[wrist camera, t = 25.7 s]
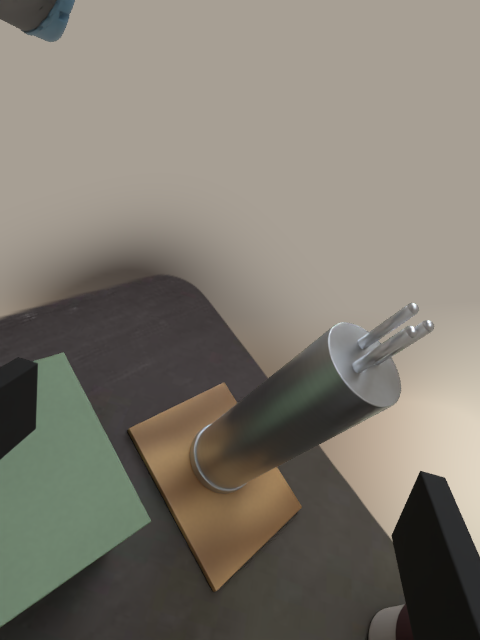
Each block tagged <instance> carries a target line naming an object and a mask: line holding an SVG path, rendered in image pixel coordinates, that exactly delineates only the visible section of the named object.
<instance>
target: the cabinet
mask: <svg viewBox="0 0 480 640" xmlns="http://www.w3.org/2000/svg"><path fill="white" fill-rule="evenodd" d="M33 362H36V363H38V381H37V411H36V429H35V430H34V431H33V432H32V433H30V434H29V435H28V436H27V437H26V438H25V439H24V440H22V441H21V442H20V443H19V444H18V445H17V446H15V447H14V448H13V449H12V450H11V451H10V452H9V453H7V454H6V455H5V456H4V457H3V458H2V459H0V627H2V626H3V625H5V624H6V623H8V622H9V621H10V620H12V619H13V618H15V617H16V616H18V615H19V614H20V613H22V612H23V611H25V610H26V609H28V608H29V607H30V606H32V605H33V604H35V603H36V602H37V601H39V600H40V599H42V598H43V597H45V596H46V595H47V594H49V593H50V592H52V591H53V590H55V589H56V588H57V587H59V586H60V585H62V584H63V583H65V582H66V581H67V580H69V579H70V578H72V577H73V576H74V575H76V574H77V573H79V572H80V571H82V570H83V569H84V568H86V567H87V566H89V565H90V564H92V563H93V562H94V561H96V560H97V559H99V558H100V557H102V556H103V555H104V554H106V553H107V552H109V551H110V550H112V549H113V548H114V547H116V546H117V545H119V544H120V543H121V542H123V541H124V540H126V539H127V538H129V537H130V536H131V535H133V534H134V533H136V532H137V531H139V530H140V529H141V528H143V527H144V526H146V525H147V524H149V523H150V522H151V520H150V518H149V516H148V514H147V512H146V510H145V508H144V506H143V504H142V503H141V501H140V499H139V497H138V495H137V493H136V491H135V489H134V487H133V485H132V483H131V481H130V479H129V477H128V476H127V474H126V472H125V470H124V468H123V466H122V464H121V462H120V460H119V458H118V456H117V454H116V452H115V450H114V449H113V447H112V445H111V443H110V441H109V439H108V437H107V435H106V433H105V431H104V429H103V427H102V425H101V423H100V422H99V420H98V418H97V416H96V414H95V412H94V410H93V408H92V406H91V404H90V402H89V400H88V398H87V396H86V395H85V393H84V391H83V389H82V387H81V385H80V383H79V381H78V379H77V377H76V375H75V373H74V371H73V369H72V368H71V366H70V364H69V362H68V360H67V358H66V356H65V354H64V353H60V354H57V355H53V356H50V357H46V358H43V359H40V360H36V361H33Z"/></svg>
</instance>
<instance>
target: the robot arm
mask: <svg viewBox="0 0 480 640" xmlns="http://www.w3.org/2000/svg"><path fill="white" fill-rule="evenodd" d="M74 2H75V0H0V19H1V20H3V21H5V22H7V23H9V24H11V25H13V26H15V27H17V28H19V29H21V31H23V32H24V33H26V34H28V35H34V36H36V37H38V38H41V39H43V40H45V41H49V42H54V41H57V40H58V39H59V38H60V37H61V36H62V34H63V32H64V30H65V28H66V25H67V22H68V19H69V14H70V13H71V10H72V8H73V5H74ZM37 381H38V363H36V362H33V361H29V360H26V359H22V358H19V357H18V358H16V359H14V360H12V361H11V362H9V363H7V364H6V365H4V366H2V367H0V459H2V458H3V457H4V456H5V455H6V454H7V453H9V452H10V451H11V450H12V449H13V448H14V447H15V446H17V445H18V444H19V443H20V442H21V441H22V440H24V439H25V438H26V437H27V436H28V435H29V434H30V433H32V432H33V431H34V430H35V429H36V411H37ZM392 540H393V545H394V549H395V554H396V559H397V563H398V568H399V573H400V578H401V582H402V587H403V592H404V596H405V601H406V606H407V611H408V615H409V620H410V625H411V629H412V634H413V639H414V640H480V557H479V554H478V552H477V550H476V547H475V545H474V543H473V541H472V538H471V536H470V534H469V532H468V529H467V527H466V525H465V522H464V520H463V518H462V515H461V513H460V511H459V508H458V506H457V504H456V502H455V499H454V497H453V495H452V493H451V490H450V488H449V486H448V484H447V481H446V479H445V478H443V477H440V476H437V475H433V474H429V473H426V472H422V471H420V473H419V475H418V477H417V480H416V482H415V484H414V486H413V489H412V491H411V493H410V495H409V498H408V500H407V502H406V504H405V507H404V509H403V511H402V513H401V516H400V518H399V520H398V522H397V525H396V527H395V529H394V531H393V533H392Z"/></svg>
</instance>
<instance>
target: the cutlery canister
mask: <svg viewBox="0 0 480 640" xmlns="http://www.w3.org/2000/svg"><path fill="white" fill-rule="evenodd" d="M418 311H419V307H418V306H417V305H416V304H415V303H410V304H408V305H406V306H405V307H404V308H402V309H401V310H400V311H398V312H397V313H395V314H394V315H393V316H391V317H390V318H389V319H387V320H386V321H384V322H383V323H382V324H380V325H379V326H377V327H376V328H375V329H373V330H372V331H371V332H368V331H366V330H365V329H363V328H362V327H360V326H358V325H355V324H352V323H345V322H344V323H338V324H336V325H334V326H333V327H332V328H331V329H329V330H328V331H327V332H326V333H324V334H323V335H322V336H321V337H319V338H318V339H317V340H316V341H314V342H313V343H312V344H311V345H309V346H308V347H307V348H306V349H304V350H303V351H302V352H301V353H299V354H298V355H297V356H296V357H294V358H293V359H292V360H291V361H290V362H288V363H287V364H286V365H284V366H283V367H282V368H281V369H280V370H278V371H277V372H276V373H274V374H273V375H272V376H271V377H269V378H268V379H267V380H266V381H264V382H263V383H262V384H261V385H260V386H258V387H257V388H256V389H255V390H253V391H252V392H251V393H250V394H248V395H247V396H246V397H245V398H243V399H242V400H241V401H240V402H238V403H237V404H236V405H235V406H233V407H232V408H231V409H230V410H228V411H227V412H226V413H225V414H223V415H222V416H221V417H220V418H218V419H217V420H216V421H215V422H213V423H212V424H209V425H207V426H206V427H204V428H203V429H202V430H200V431H199V432H198V433H197V434H196V436H195V437H194V439H193V441H192V444H191V448H190V461H191V466H192V469H193V471H194V473H195V475H196V477H197V478H198V480H199V481H200V482H201V483H202V484H203V485H204V486H205V487H206V488H208V489H209V490H211V491H213V492H216V493H221V494H228V493H232V492H235V491H237V490H239V489H240V488H242V487H243V486H244V485H245V484H246V483H247V482H249V481H251V480H253V479H255V478H257V477H259V476H260V475H262V474H264V473H266V472H268V471H270V470H272V469H274V468H276V467H277V466H279V465H281V464H283V463H285V462H287V461H289V460H291V459H293V458H294V457H296V456H298V455H300V454H302V453H304V452H306V451H308V450H310V449H312V448H313V447H315V446H317V445H319V444H321V443H323V442H325V441H327V440H328V439H330V438H332V437H334V436H336V435H338V434H340V433H342V432H344V431H346V430H347V429H349V428H351V427H353V426H355V425H357V424H359V423H361V422H362V421H365V420H366V419H368V418H370V417H372V416H374V415H376V414H378V413H380V412H381V411H383V410H385V409H387V408H389V407H391V406H393V405H394V404H395V403H396V402H397V401H398V399H399V397H400V393H401V383H400V377H399V373H398V370H397V369H396V366H395V364H394V362H393V360H392V358H391V357H392V356H394V355H395V354H397V353H398V352H400V351H402V350H403V349H405V348H406V347H408V346H410V345H411V344H413V343H414V342H416V341H417V340H419V339H421V338H422V337H424V336H425V335H427V334H428V333H430V332H432V331H433V329H434V324H433V323H432V322H431V321H428V320H426V321H423V322H422V323H420V324H419V325H417V326H416V327H413V326H407V327H406V328H404V329H403V330H401V331H400V332H398V333H397V334H395V335H394V336H392V337H391V338H389V339H388V340H386V341H385V342H383V343H382V344H381V343H380V342H379V341H378V340H380V339H381V338H382V337H384V336H385V335H387V334H388V333H390V332H391V331H393V330H394V329H395V328H397V327H398V326H400V325H401V324H403V323H404V322H405V321H407V320H409V319H410V318H411V317H413V316H414V315H416V314H417V313H418Z"/></svg>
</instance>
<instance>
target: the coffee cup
mask: <svg viewBox="0 0 480 640" xmlns="http://www.w3.org/2000/svg"><path fill="white" fill-rule="evenodd" d="M368 640H414V639H413V634H412V629H411V625H410V620H409V615H408V611H407V606H406V604H405V605H400V606H395V607H390V608H385V609H382V610H381V611H379V612H378V613H377V614H376V615H375V616H374V618H373V620H372V622H371V625H370V629H369V635H368Z"/></svg>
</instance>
